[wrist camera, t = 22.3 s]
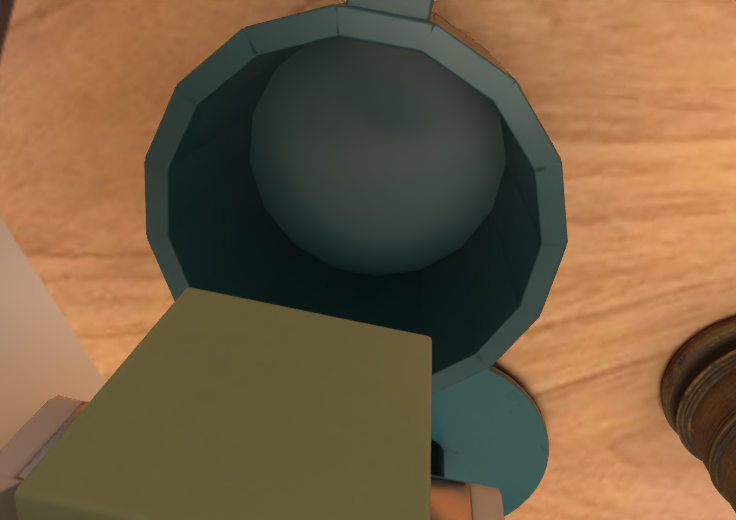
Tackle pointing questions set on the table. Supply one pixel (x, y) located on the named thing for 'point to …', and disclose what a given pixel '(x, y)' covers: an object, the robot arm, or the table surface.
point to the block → (248, 423)
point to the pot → (362, 180)
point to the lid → (489, 436)
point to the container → (706, 402)
